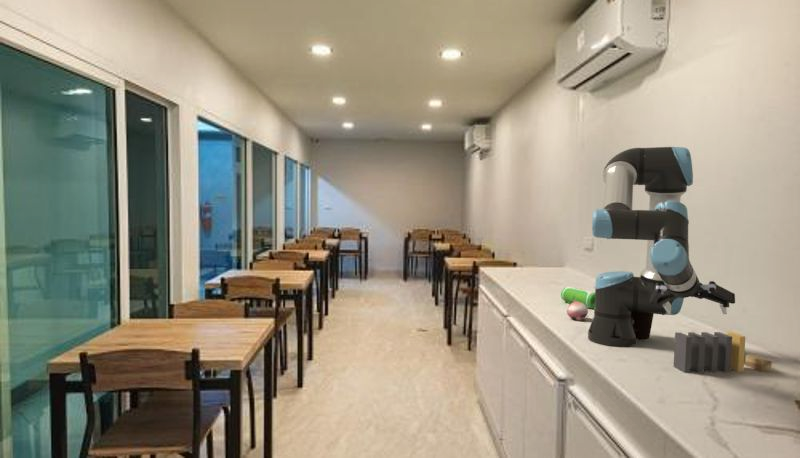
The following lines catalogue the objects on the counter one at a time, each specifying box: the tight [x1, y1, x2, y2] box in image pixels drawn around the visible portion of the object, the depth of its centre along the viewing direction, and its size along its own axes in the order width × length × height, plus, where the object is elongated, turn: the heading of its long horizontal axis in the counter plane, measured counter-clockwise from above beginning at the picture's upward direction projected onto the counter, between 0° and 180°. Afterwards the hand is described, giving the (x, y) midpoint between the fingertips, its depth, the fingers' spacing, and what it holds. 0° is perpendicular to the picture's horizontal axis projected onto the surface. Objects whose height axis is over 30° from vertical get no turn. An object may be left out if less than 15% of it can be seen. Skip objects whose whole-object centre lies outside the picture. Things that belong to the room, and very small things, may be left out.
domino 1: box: [673, 332, 692, 374], centre depth 148 cm, size 2×5×10 cm, turn 6°
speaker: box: [560, 286, 595, 309], centre depth 233 cm, size 18×7×8 cm, turn 26°
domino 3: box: [700, 331, 719, 373], centre depth 148 cm, size 2×5×10 cm, turn 6°
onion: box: [566, 301, 589, 321], centre depth 207 cm, size 8×8×7 cm
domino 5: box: [726, 331, 746, 373], centre depth 149 cm, size 2×5×10 cm, turn 6°
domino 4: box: [713, 331, 732, 373], centre depth 149 cm, size 2×5×10 cm, turn 6°
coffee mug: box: [631, 312, 655, 341], centre depth 183 cm, size 12×9×10 cm
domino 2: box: [687, 331, 705, 373], centre depth 148 cm, size 2×5×10 cm, turn 6°
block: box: [744, 354, 773, 373], centre depth 150 cm, size 3×6×3 cm, turn 6°
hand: (696, 309), depth 146 cm, fingers open, 13 cm apart
